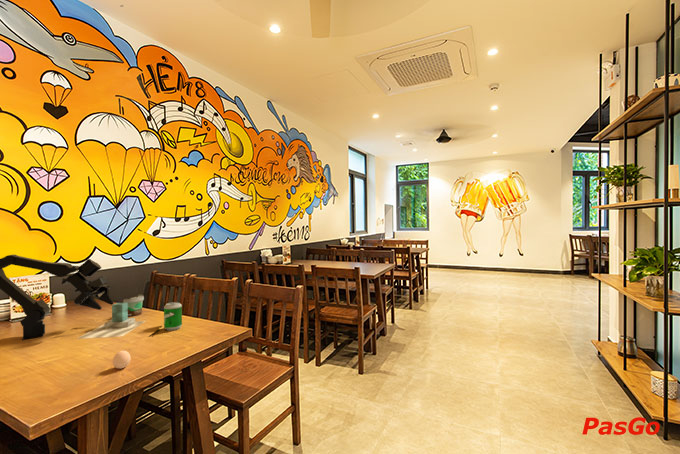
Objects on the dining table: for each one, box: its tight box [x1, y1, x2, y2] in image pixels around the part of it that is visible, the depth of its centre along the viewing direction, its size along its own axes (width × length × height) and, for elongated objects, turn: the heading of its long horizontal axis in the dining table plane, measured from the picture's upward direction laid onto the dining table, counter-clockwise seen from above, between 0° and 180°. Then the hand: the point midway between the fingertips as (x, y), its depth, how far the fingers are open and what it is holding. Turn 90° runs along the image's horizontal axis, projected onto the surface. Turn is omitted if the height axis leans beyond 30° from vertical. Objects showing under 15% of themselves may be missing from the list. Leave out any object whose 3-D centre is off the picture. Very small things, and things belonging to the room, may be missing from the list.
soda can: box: [163, 301, 183, 332], centre depth 147 cm, size 8×8×12 cm
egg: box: [112, 350, 131, 370], centre depth 106 cm, size 5×5×6 cm
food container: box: [122, 294, 145, 318], centre depth 171 cm, size 12×6×10 cm, turn 179°
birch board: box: [76, 320, 147, 340], centre depth 143 cm, size 18×22×2 cm
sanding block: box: [103, 302, 136, 328], centre depth 147 cm, size 10×6×10 cm, turn 98°
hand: (106, 306), depth 147 cm, fingers open, 9 cm apart
